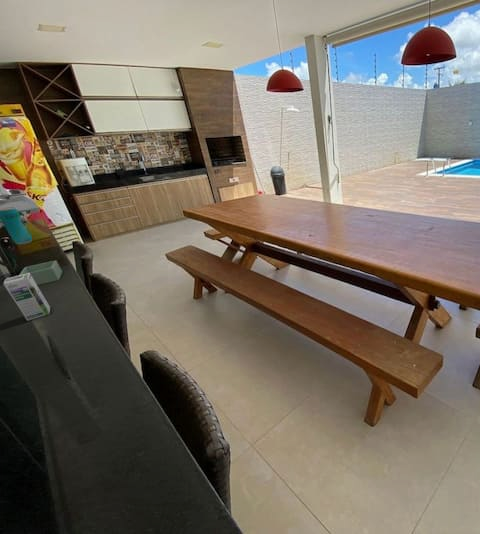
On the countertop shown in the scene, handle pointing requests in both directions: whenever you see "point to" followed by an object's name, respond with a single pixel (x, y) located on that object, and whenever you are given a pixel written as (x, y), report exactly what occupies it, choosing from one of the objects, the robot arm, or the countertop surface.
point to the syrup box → (27, 296)
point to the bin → (44, 272)
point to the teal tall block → (15, 225)
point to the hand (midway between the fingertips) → (14, 224)
